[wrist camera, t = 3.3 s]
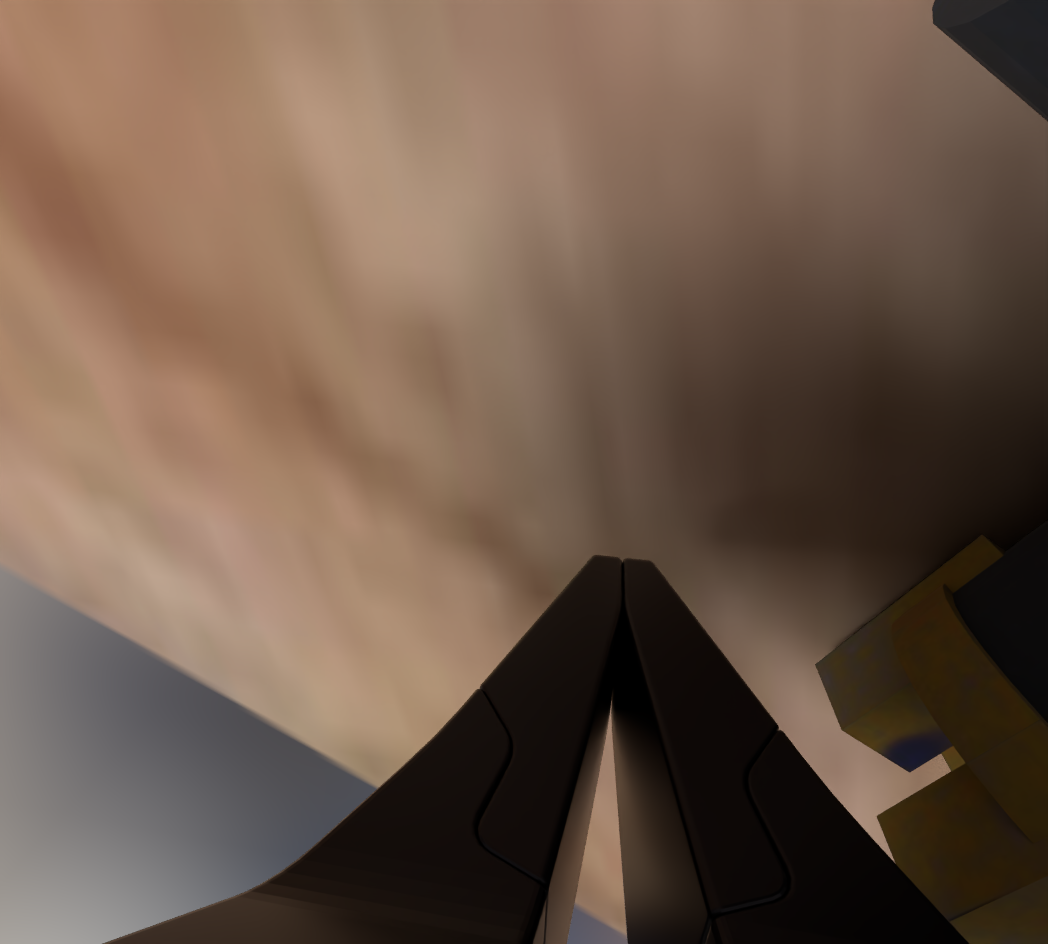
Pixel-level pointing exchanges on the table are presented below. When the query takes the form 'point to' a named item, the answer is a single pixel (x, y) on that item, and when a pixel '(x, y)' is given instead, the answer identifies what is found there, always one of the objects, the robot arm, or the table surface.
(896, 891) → the robot arm
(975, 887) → the pipe connector
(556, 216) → the table surface
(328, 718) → the table surface
